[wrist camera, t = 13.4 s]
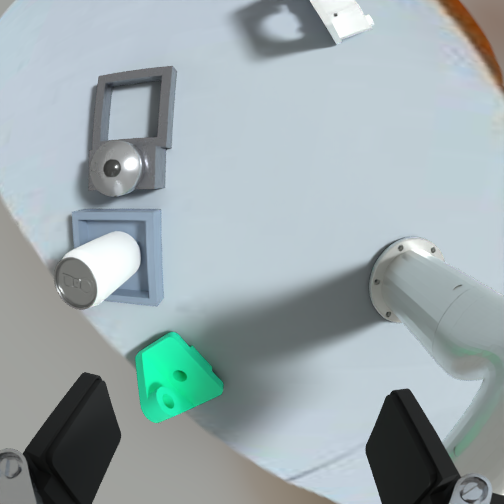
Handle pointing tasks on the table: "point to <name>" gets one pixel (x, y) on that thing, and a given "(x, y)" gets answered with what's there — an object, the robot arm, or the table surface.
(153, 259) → the tray
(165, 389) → the camera mount
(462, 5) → the table surface
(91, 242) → the can
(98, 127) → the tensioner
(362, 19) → the mounting bracket
